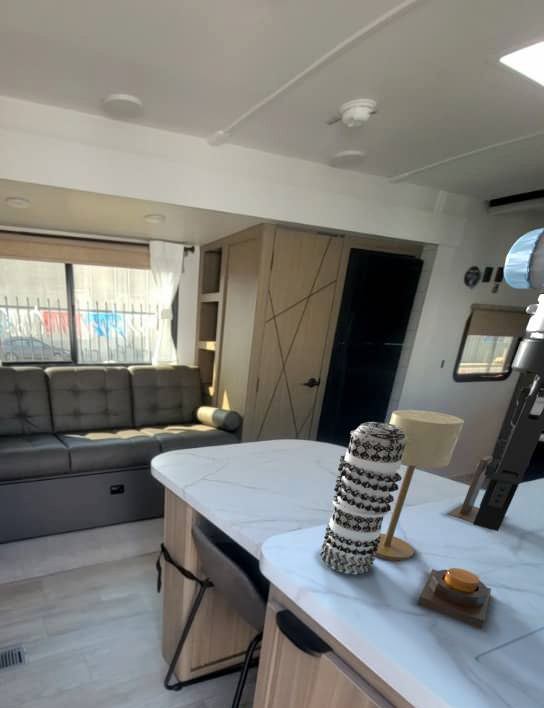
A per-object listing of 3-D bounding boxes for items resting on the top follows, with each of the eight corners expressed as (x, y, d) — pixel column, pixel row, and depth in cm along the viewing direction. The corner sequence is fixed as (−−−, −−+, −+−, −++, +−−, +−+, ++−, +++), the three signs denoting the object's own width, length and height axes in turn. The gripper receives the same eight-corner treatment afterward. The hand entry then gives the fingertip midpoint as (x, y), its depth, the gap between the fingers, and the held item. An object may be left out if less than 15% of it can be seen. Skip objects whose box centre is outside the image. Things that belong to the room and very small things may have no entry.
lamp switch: (499, 445, 91) (501, 436, 90) (532, 452, 87) (535, 442, 86) (474, 472, 87) (476, 463, 86) (507, 481, 83) (510, 471, 81)
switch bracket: (462, 507, 96) (484, 451, 90) (502, 520, 90) (529, 461, 84) (445, 518, 90) (467, 459, 84) (487, 532, 84) (514, 470, 78)
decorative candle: (307, 552, 75) (336, 418, 64) (355, 551, 76) (391, 418, 65) (330, 581, 67) (368, 433, 56) (383, 580, 68) (430, 433, 57)
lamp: (407, 543, 80) (451, 412, 68) (421, 570, 71) (474, 426, 60) (352, 534, 82) (387, 407, 71) (359, 560, 73) (399, 420, 62)
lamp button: (446, 574, 64) (449, 564, 63) (476, 584, 61) (481, 574, 61) (441, 585, 61) (445, 575, 60) (473, 596, 59) (478, 586, 58)
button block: (428, 579, 68) (435, 559, 67) (486, 600, 64) (495, 579, 62) (415, 607, 62) (423, 586, 60) (478, 633, 57) (489, 610, 55)
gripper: (525, 334, 55) (465, 489, 65) (519, 337, 41) (444, 533, 51) (602, 337, 51) (525, 503, 61) (623, 341, 37) (519, 555, 47)
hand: (488, 516), depth 56 cm, fingers open, 7 cm apart
